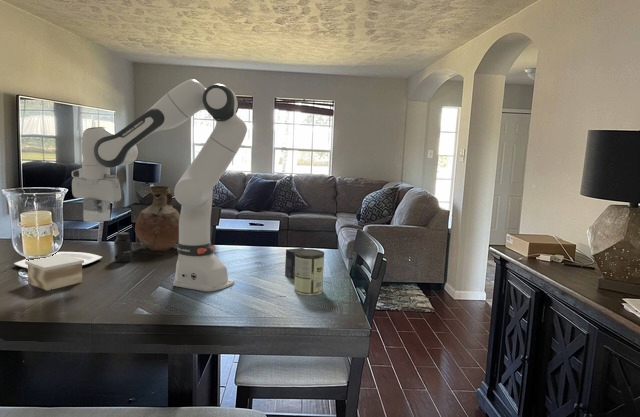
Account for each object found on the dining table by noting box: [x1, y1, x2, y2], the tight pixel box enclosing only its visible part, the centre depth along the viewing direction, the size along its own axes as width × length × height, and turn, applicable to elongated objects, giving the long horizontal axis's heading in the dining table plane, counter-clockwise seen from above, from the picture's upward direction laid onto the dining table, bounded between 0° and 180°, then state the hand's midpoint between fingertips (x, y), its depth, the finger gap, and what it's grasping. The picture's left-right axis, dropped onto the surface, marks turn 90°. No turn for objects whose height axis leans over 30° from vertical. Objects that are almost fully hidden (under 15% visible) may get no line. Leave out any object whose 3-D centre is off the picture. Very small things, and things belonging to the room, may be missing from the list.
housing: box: [82, 198, 111, 224], centre depth 156 cm, size 5×7×8 cm
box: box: [284, 247, 305, 279], centre depth 172 cm, size 8×6×11 cm
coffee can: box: [293, 248, 325, 296], centre depth 153 cm, size 10×10×14 cm
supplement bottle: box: [113, 231, 133, 264], centre depth 183 cm, size 7×7×12 cm
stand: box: [25, 254, 84, 291], centre depth 152 cm, size 13×13×8 cm
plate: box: [13, 251, 103, 269], centre depth 176 cm, size 27×27×2 cm
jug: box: [134, 185, 180, 252], centre depth 206 cm, size 22×22×30 cm
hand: (96, 212), depth 156 cm, fingers closed on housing, 5 cm apart
